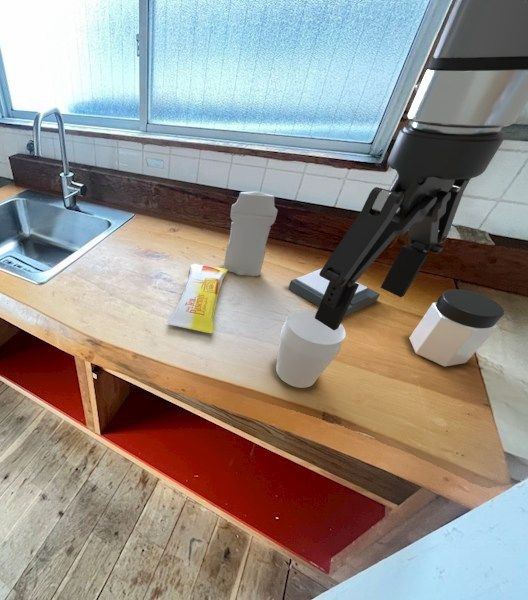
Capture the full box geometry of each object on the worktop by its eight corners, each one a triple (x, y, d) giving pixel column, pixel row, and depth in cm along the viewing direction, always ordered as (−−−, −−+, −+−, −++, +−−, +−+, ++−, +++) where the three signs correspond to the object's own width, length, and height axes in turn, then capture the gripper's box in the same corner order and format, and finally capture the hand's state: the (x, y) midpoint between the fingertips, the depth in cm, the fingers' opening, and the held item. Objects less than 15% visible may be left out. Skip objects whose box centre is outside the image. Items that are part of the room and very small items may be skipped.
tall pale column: (262, 271, 88) (282, 191, 75) (260, 279, 85) (281, 197, 72) (223, 264, 92) (235, 186, 79) (220, 271, 89) (232, 192, 76)
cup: (328, 372, 60) (353, 323, 52) (311, 403, 55) (336, 354, 47) (280, 349, 65) (297, 302, 58) (260, 375, 60) (276, 327, 52)
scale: (375, 302, 76) (381, 291, 74) (339, 319, 71) (344, 309, 69) (322, 274, 86) (326, 264, 84) (288, 288, 81) (291, 278, 79)
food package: (213, 329, 67) (166, 320, 70) (212, 337, 68) (166, 328, 71) (228, 265, 87) (191, 260, 90) (227, 272, 88) (191, 267, 91)
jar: (436, 333, 67) (471, 286, 59) (476, 362, 60) (521, 313, 53) (397, 339, 66) (428, 291, 59) (434, 369, 59) (474, 320, 52)
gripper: (473, 109, 37) (388, 268, 49) (324, 136, 28) (269, 320, 41) (568, 116, 31) (445, 293, 44) (420, 152, 23) (321, 359, 35)
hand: (360, 306), depth 42 cm, fingers open, 13 cm apart
